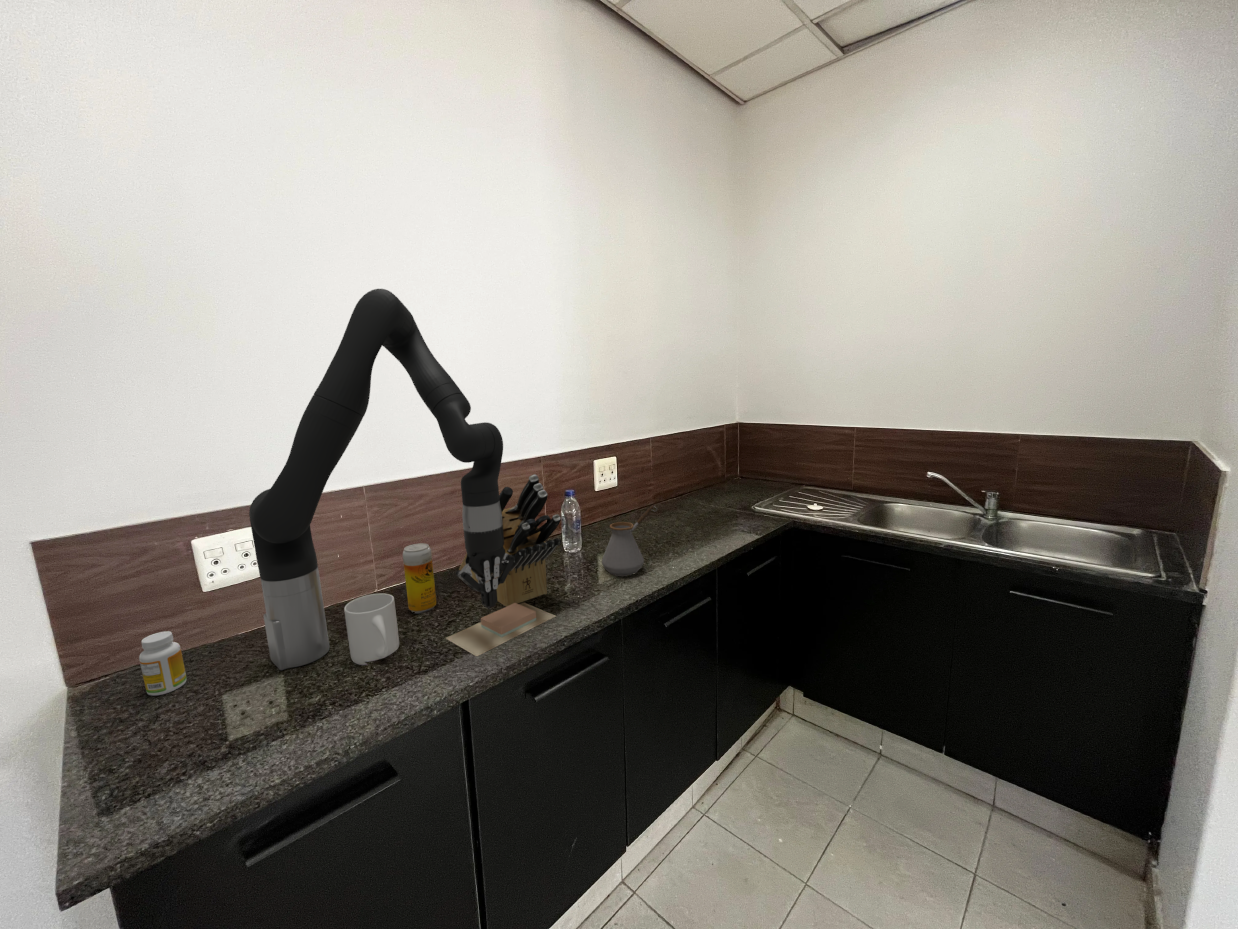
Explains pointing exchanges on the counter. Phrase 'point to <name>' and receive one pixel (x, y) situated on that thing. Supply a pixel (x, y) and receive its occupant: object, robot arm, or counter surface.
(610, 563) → the coffee pot
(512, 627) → the pink rectangular block
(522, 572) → the knife block
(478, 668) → the counter surface
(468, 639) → the board
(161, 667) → the supplement bottle
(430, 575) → the beer can
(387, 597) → the mug
